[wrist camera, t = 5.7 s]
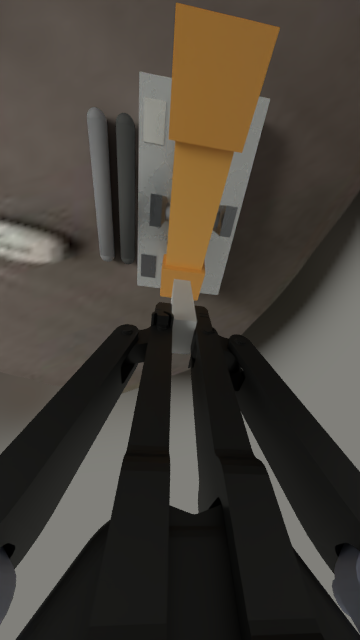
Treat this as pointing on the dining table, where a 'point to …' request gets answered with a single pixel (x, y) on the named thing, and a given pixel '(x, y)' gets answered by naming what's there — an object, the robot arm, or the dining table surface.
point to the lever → (208, 126)
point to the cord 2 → (126, 185)
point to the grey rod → (101, 180)
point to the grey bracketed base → (158, 186)
